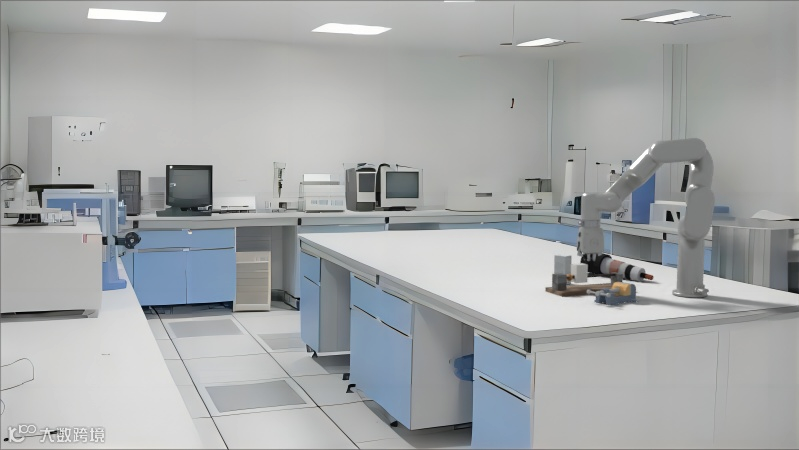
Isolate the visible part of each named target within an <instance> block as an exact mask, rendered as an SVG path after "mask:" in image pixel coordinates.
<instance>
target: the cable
mask: <svg viewBox="0 0 799 450" xmlns="http://www.w3.org/2000/svg"><path fill="white" fill-rule="evenodd" d="M580 263H583V264H585V260H584V259H583V257H581V256H580ZM611 272H616V273H621V274H623V279H626V280H631V281H636V282H643V281H644V280H648V281H653V280H654V275H653V274H649V273H646V269H645V268H644V267H640V266H636V265H632V264H630V263H626V262H625V261H621V260H618V259H613V257H612V256H611V255H610V254H606V253H604V252H602V255H600V256H597V258H596V259H595V261H594V268H593V271H588V273H589V274H591V275H596V274H611Z"/></svg>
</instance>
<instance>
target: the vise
mask: <svg viewBox="0 0 799 450" xmlns="http://www.w3.org/2000/svg"><path fill="white" fill-rule="evenodd" d="M587 293H588V294H589V295H591V294H590V293H594V294H593V295H595V299H594V301H593V302H594V303H595V302H596V303H595V304H603V303H602V302H605V305H606V306H609V305H617V306H619V304H618V303H621V304H625V303H624V302H627V303H637V302H638V299H637V286H636V285H635V284H634V283H630V282H624V281H623V282H615V283H614V284H613V286H612V288H611V289H608V288H605V289H601V290H600V291H596V292H593V291H591V290H587ZM636 301H637V302H636Z"/></svg>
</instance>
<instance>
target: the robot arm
mask: <svg viewBox="0 0 799 450" xmlns="http://www.w3.org/2000/svg"><path fill="white" fill-rule="evenodd" d="M683 162H687V163H688V167H689V172H688V173H689V174H688V179H687V180H688V181H687V185H686V190H685V194H684V202H685V205H686V209H685V214H683V215H681V217H680V219H679V220H678V223H677V224H678V225H677V239H678V240H677V242H678V243H677V247H678V248H677V263H676V264H677V268H676V270H677V271H676V289H672V291H671V293H672V295H673V296H678V297H684V298H705V297H707V296H708V293H709V292H710V291H709V288H705V287H706V285H705V284H704V270H705V252H706V251H705V248H706V247H705V238H706V237H707V236H708V234H709V232H710V230H711V226H712V221H713V216H714V215H713V214H714V209H715V205H716V204H715V203H716V197H715V193H714V192H713V190H712V185H713V176H714V161H713V157H712V156H711V153H710V152H709V150H708V149H707V145H706V143H705V141H704V140H702V139H700V138H698V137H687V138H681V139H669V140H666V139H665V140H656V141H654V142H653V143H651V144H650V145H649V146H648V147H647V148H646V149H645V150H644V151H643V152H642V153H641V154H640V155H639V156H638V157H637V158H636V160H635V161H633V163H632V164H630V166H629V167H628V168H626V170H624V172H623V173H622V175H621V176H620V177H619V178H618V179H617V180H615V182H614V183H613V184H612V185H611V186H610V187H609V188H608V189H607V190H606V191H605V192H604V193H598V192H584V193H582V194H581V200H580V204H581V205H580V221H578V226H580V227H579V228H578V232H577V239H576V251H577V254H576V256H577V257H580V258H581V257H583V259H584V260H585V264H587V265H588V271H593V268H594V261H595V259H596V258H597V256H600V255H602V253H604V250H605V236H604V230H603V228H602V227H601V222H602V220H601V213H602V212H605V213H616V212H618V211H619V210H620V209H621V207H622V205H623V202H624V201H625V200H626V199H627V198H628V197H629V196H630V195H631V194H632V193H633V192H635V191H636V190H637V189H638V188H640V187H642V186H643V185H645V184H646V183H647V181H649V180H650V179H651V178H652V177H653V175H655V173H656V172H657V171H658V170H659V169H660V168H662V166H663V165H664V164H674V163H683Z"/></svg>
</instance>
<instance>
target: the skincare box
mask: <svg viewBox="0 0 799 450" xmlns="http://www.w3.org/2000/svg"><path fill="white" fill-rule="evenodd" d="M553 257H554V261H553V262H554V264H553V265H554V267H553V268H554V269H553V270H554V271H553V274H557V273H562V274H566V275H567V274H571V264H572V258H573V257H572V255H569V254H562V253H561V254H559V253H558V254H554V256H553ZM571 284H572V282H571V281H568V280H567V285H571Z"/></svg>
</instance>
